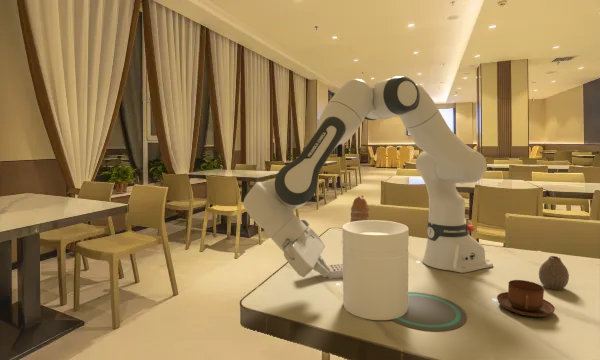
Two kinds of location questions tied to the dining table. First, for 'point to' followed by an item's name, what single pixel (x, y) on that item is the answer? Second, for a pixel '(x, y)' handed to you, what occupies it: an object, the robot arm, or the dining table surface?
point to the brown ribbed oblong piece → (359, 209)
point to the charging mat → (431, 313)
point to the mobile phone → (335, 271)
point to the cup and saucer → (525, 299)
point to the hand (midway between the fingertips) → (328, 273)
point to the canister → (375, 269)
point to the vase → (553, 273)
